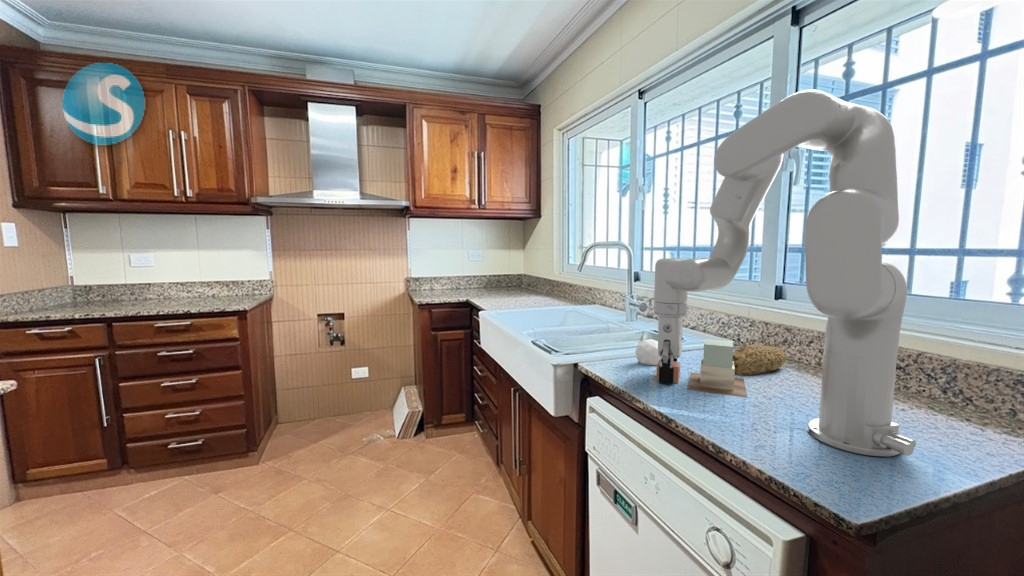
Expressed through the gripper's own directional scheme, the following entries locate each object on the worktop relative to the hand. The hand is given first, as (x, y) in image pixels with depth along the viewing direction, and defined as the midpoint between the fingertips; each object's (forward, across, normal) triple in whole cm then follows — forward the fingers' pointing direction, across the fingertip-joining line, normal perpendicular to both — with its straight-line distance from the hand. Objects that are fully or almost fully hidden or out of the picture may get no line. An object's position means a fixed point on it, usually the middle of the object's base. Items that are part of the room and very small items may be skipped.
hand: (668, 377), depth 101 cm
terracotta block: (+1, 0, 0) cm, 1 cm away
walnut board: (+1, +1, -11) cm, 11 cm away
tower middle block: (-5, +1, -11) cm, 12 cm away
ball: (+2, +13, +6) cm, 14 cm away
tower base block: (0, +1, -11) cm, 11 cm away
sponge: (+2, +21, -20) cm, 29 cm away
